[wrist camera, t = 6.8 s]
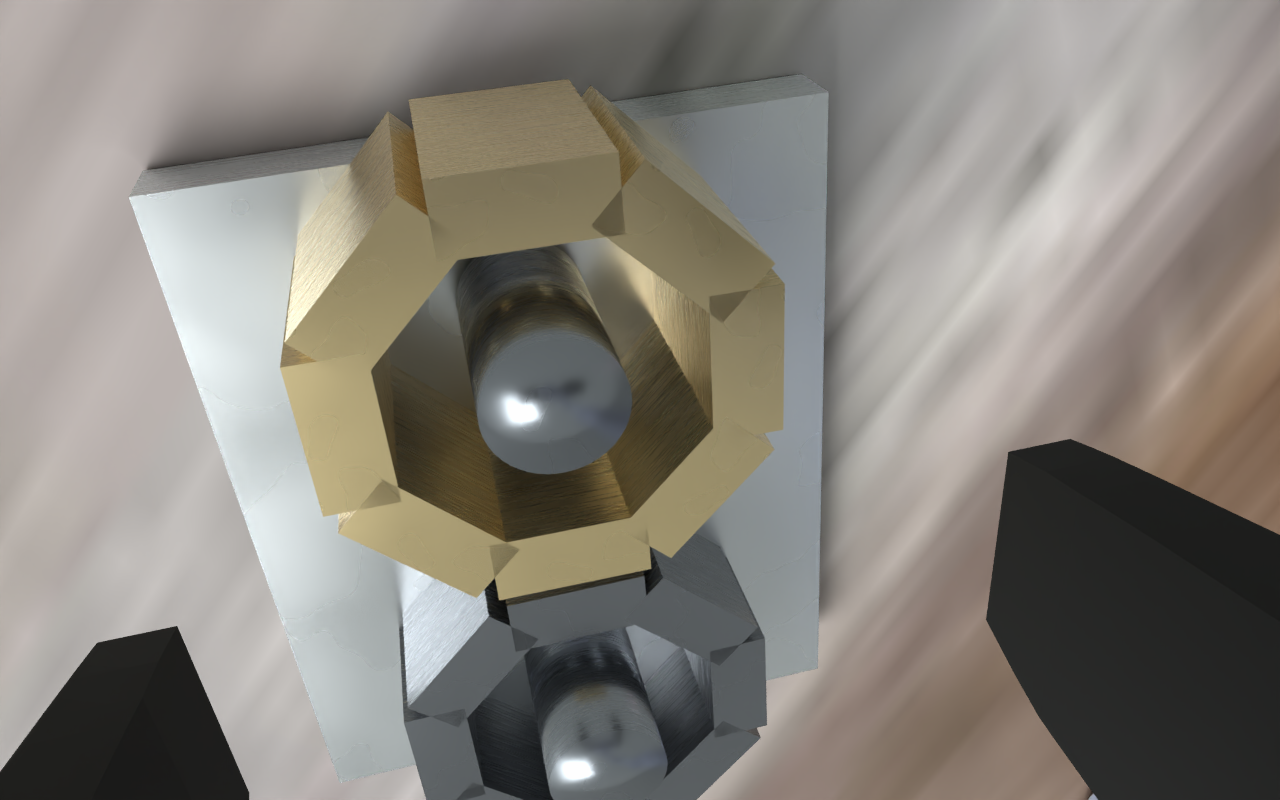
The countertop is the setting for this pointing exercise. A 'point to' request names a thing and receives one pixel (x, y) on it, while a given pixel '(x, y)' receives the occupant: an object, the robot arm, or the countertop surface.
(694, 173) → the brass ring
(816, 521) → the piston block
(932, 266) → the countertop surface
